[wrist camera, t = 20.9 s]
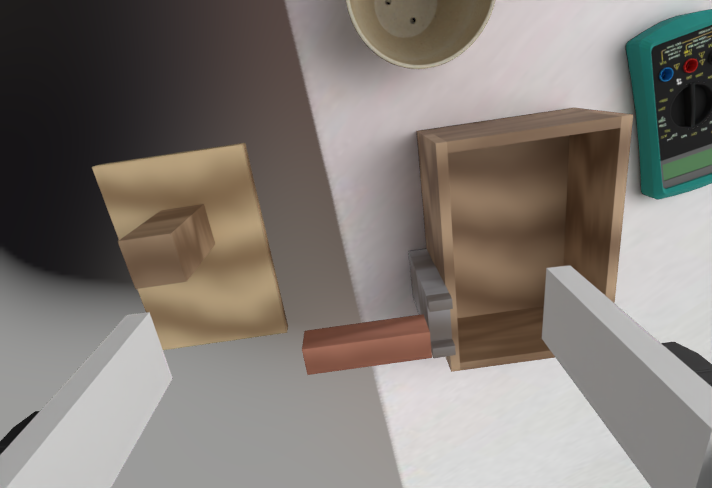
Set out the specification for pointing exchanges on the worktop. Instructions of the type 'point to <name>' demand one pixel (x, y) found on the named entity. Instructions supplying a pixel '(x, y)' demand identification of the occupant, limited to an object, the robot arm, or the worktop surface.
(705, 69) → the digital multimeter
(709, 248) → the worktop surface
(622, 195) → the brown wooden box
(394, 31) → the flower pot
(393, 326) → the reddish brown rectangular block
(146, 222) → the wooden block with peg
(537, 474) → the worktop surface
